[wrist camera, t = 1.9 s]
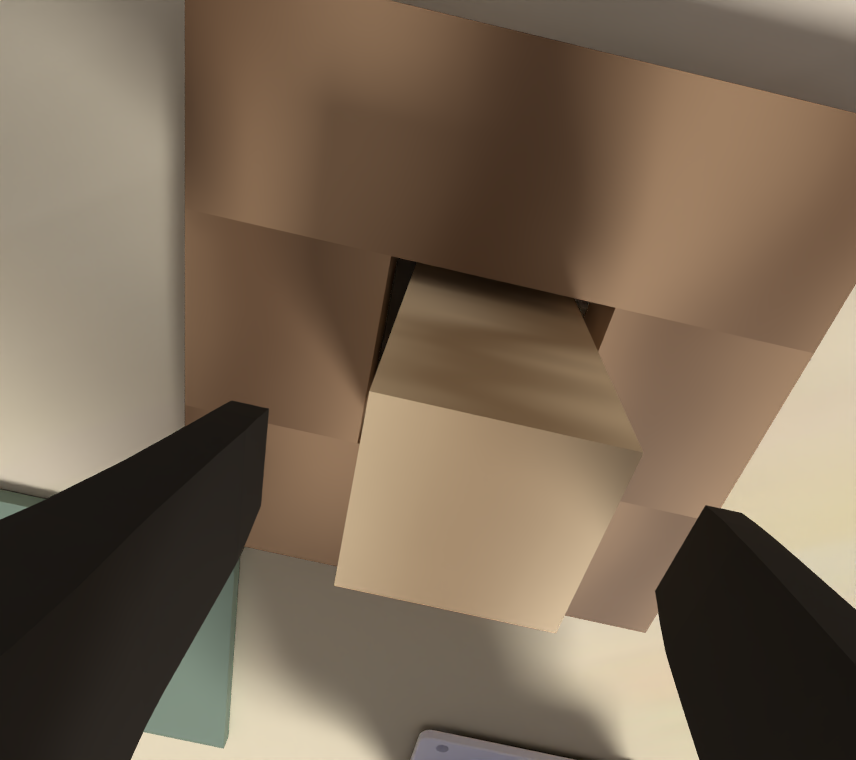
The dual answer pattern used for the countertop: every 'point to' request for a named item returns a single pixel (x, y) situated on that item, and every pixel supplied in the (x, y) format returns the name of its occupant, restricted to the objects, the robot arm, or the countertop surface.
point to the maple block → (485, 454)
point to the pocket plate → (500, 244)
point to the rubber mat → (188, 665)
